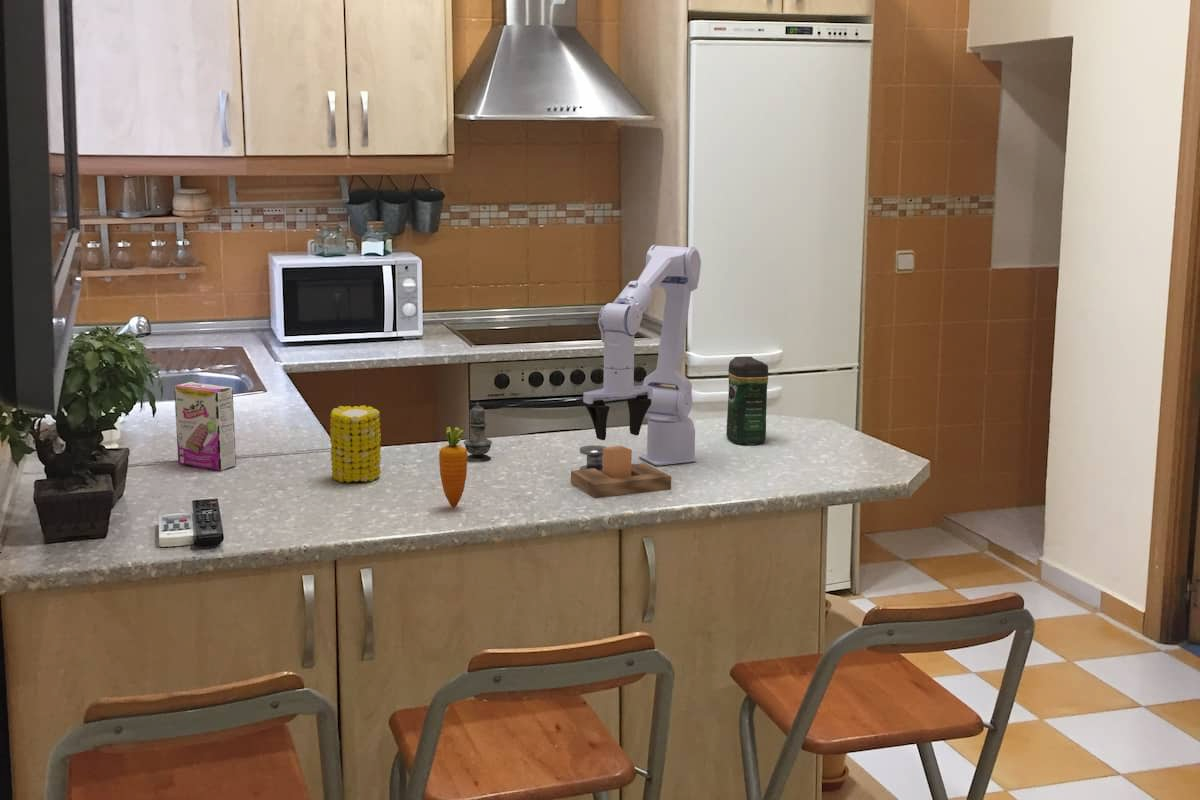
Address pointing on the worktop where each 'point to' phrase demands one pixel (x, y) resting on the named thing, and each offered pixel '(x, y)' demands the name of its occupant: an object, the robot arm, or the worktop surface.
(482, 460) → the salt shaker
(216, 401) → the candy bar box
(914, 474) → the worktop surface
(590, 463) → the doorknob
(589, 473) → the notched board
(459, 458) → the carrot
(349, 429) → the food
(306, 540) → the worktop surface
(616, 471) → the brown block
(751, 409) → the coffee jar
